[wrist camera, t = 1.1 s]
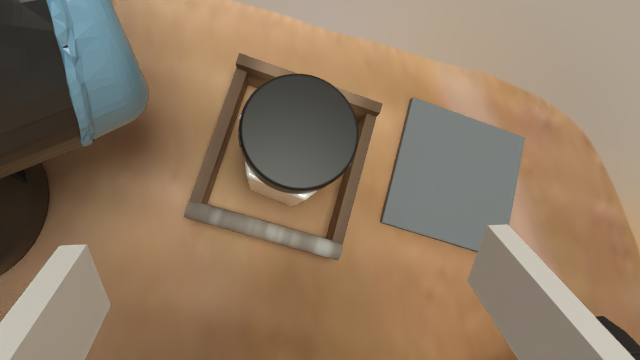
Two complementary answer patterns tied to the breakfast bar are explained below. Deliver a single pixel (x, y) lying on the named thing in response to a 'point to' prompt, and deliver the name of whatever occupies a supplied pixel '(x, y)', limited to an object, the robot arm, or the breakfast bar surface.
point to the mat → (452, 176)
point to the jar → (296, 137)
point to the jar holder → (199, 210)
